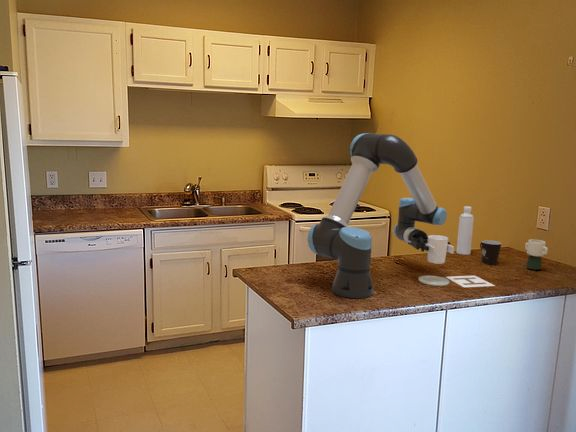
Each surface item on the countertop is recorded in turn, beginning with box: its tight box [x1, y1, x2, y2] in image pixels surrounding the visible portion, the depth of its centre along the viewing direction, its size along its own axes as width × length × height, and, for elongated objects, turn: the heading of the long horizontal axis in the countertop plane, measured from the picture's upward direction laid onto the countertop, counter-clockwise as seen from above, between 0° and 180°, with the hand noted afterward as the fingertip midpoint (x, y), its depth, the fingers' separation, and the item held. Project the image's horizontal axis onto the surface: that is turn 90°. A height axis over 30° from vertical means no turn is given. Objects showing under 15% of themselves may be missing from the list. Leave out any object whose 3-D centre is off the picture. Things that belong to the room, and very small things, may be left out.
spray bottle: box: [456, 206, 475, 256], centre depth 255 cm, size 7×7×25 cm
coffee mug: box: [479, 239, 502, 266], centre depth 240 cm, size 12×9×10 cm
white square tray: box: [445, 275, 496, 288], centre depth 209 cm, size 14×14×1 cm
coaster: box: [418, 275, 450, 287], centre depth 207 cm, size 12×12×1 cm
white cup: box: [426, 234, 449, 265], centre depth 205 cm, size 8×8×10 cm
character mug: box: [524, 239, 549, 271], centre depth 230 cm, size 11×7×13 cm, turn 29°
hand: (443, 250), depth 201 cm, fingers closed on white cup, 7 cm apart
